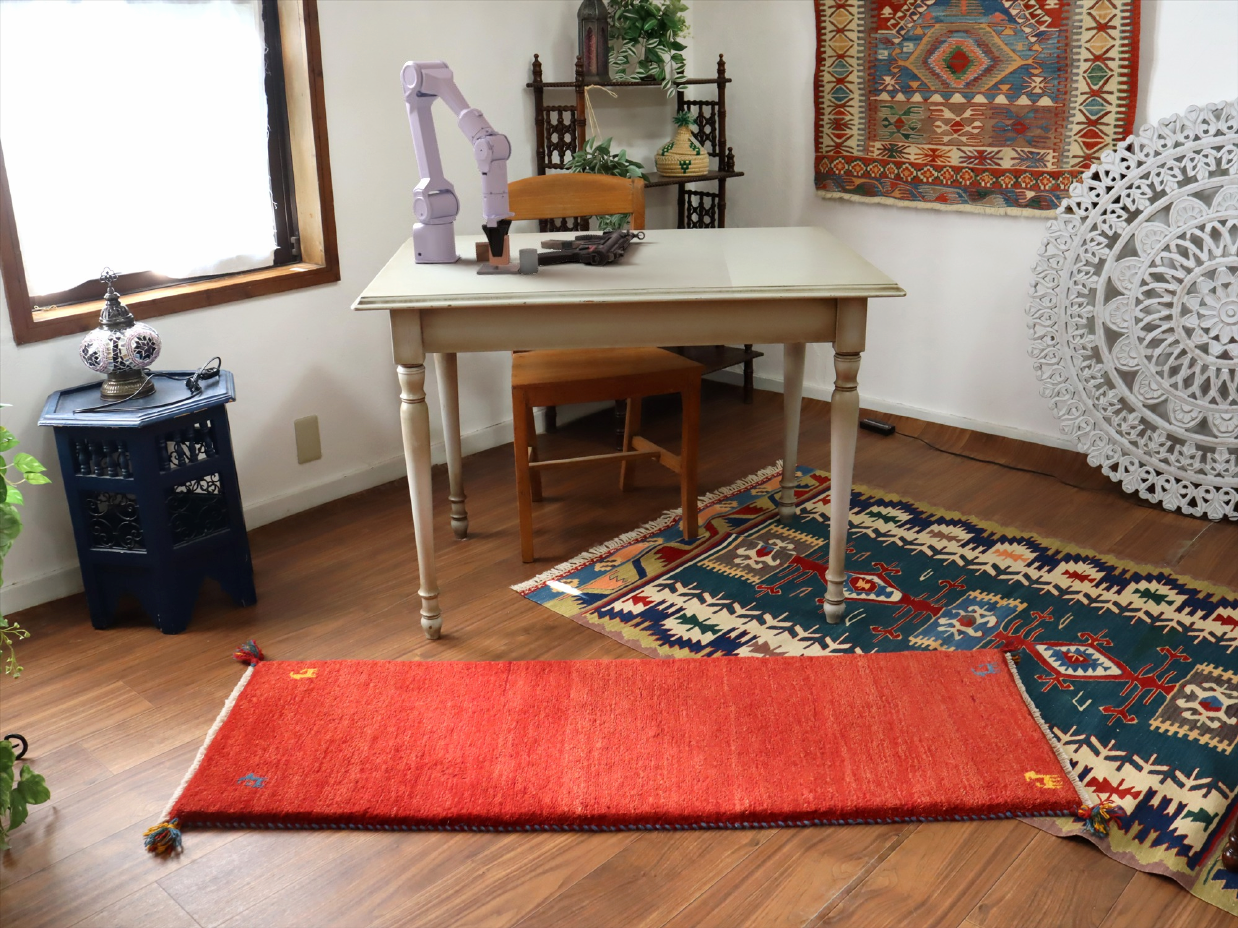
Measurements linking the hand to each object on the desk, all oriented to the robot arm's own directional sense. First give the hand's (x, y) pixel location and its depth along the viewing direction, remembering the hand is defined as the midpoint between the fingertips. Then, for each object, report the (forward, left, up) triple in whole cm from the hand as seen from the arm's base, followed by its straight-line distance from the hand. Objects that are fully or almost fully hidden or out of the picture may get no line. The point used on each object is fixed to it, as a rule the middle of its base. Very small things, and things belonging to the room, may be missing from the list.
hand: (499, 255), depth 236 cm
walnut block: (-5, +13, -4) cm, 14 cm away
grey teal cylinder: (+7, -3, -3) cm, 8 cm away
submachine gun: (+18, +19, -4) cm, 27 cm away
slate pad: (0, 0, -3) cm, 3 cm away
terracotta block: (0, 0, -2) cm, 2 cm away
